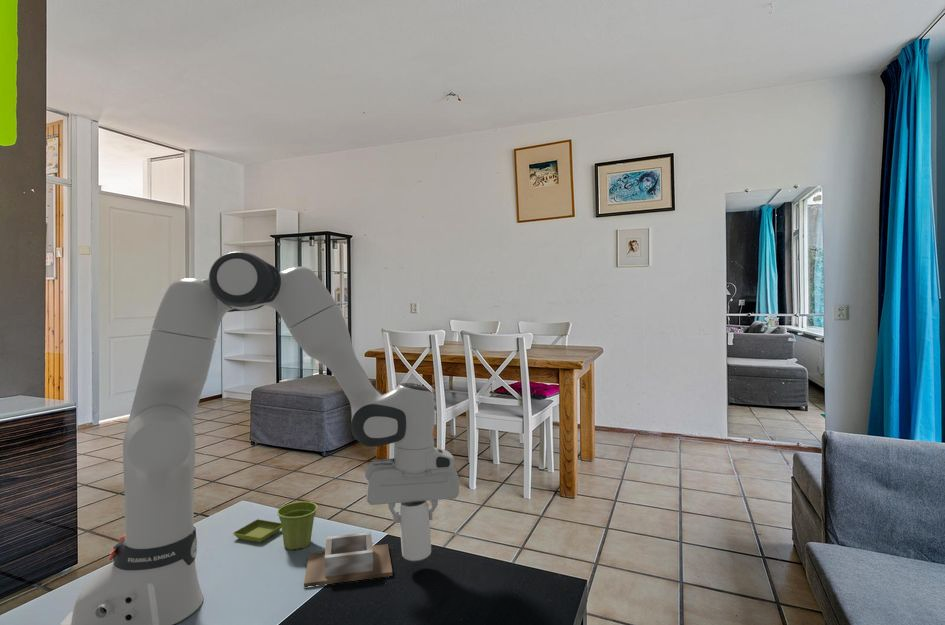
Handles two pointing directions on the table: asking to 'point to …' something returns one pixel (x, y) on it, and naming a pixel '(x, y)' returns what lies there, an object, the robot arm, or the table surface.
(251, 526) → the saucer
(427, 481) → the robot arm
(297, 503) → the plant pot
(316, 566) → the socket board
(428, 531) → the can
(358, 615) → the table surface
